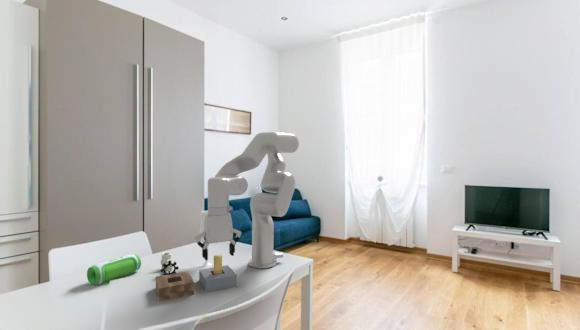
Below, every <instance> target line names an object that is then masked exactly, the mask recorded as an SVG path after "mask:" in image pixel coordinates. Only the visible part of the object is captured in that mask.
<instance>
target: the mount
mask: <svg viewBox="0 0 580 330" xmlns="http://www.w3.org/2000/svg"><path fill="white" fill-rule="evenodd" d="M155 290H156V294H157V298H158V301H159V302H161V301H165V300H166V301H167V300H172V299H177V298H182V297H187V296H192V295H195V281H194V279H193V278H192V276H191V273H190V272H189V271H182V272H176V273H175V274H169V275H163V274H162V275H158V276H155Z"/></svg>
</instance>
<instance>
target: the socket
mask: <svg viewBox="0 0 580 330" xmlns="http://www.w3.org/2000/svg"><path fill="white" fill-rule="evenodd" d="M237 277H238V274H237V273H236V272H235V271H234V269H232V268H231V267H230V266H229V265H228V264H226V265H222V274H218V275H214V266H213V267H208V268H207V267H206V268H203V269H199V270H198V281H199V282H200V284H201V286H202V288H203V289H204V291H205V293H207V292H213V291H217V290H222V289H228V288H234V287H235V288H236V289H237V287H238V285H237V283H238V279H237Z"/></svg>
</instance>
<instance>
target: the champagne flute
mask: <svg viewBox="0 0 580 330" xmlns="http://www.w3.org/2000/svg"><path fill="white" fill-rule="evenodd" d="M200 212H201V214H200V222H199V224H200V225H199V232H198V235H199V234H200V233H202V232H204V222H205V216H206V215H208V209H207V210H201V211H200ZM204 241H205V240H204V237H202V238H201V239H200V242H201V243H203V242H204ZM207 249H208V250H209V245H208V246H207ZM212 265H213V266H214V263H213V264H212V263H210V262H209V259H208V260H205V259H204V263H203V264H201V265H200V266H199V267H210V266H212Z"/></svg>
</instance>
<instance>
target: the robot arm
mask: <svg viewBox="0 0 580 330" xmlns="http://www.w3.org/2000/svg"><path fill="white" fill-rule="evenodd" d="M299 146H300V141H299V138H298V137H297V136H296V135H295V134H294V133H288V132H287V133H285V132H280V131H268V132H267V131H266V132H264V131H263V132H259V133H257V134H256V135H254V137H253V138H252V139H251V141H250V142H249V144H247V146H246V147H245V149H244V150H243V152H242V153H241V154H239V155H237V156H235V157H234V158H232V159H231V160H229V161H228V162H226V163H225V164H224V165H223V166H221V167H220V169H219V170H218V172H217V173H216V175H215V176H214V177H210V178H209V179H208V180H207V210H208V215H206V216H205V222H204V232H202V233H200V234H199V233H198V234H197V235H196V236H194V241H195V242H196V244H197V246H199V247H200V248H201V249H202V251H201V253H202V254H201V255H202V258H203V259H204V261H205V260H208V261H209V248H208V249H207V246H208V247H209V245H211V244H217V243H222V242H223V243H225V242H230V243H229V248H228V249H229V250H228V251H229V252H228V253H229V254H230V256H232V257H233V256H234V255H235V254H234V253H235V252H236V247H235V246H236V244H237V243H238V241H239V240H240V237H241V235H242V231H241V230H239V229H236V228H234V227H233V225H234V224H233V220H232V219H233V218H232V215H231V213H230V211H233V210H234V209H233V206H230V196H242V195H243V194H245V193H246V192H247V190H248V188H249V184H248V181H247V179H246V178H245V177H243V176H241V175H239V174H242V173H245V172H248V171H251V170H254V169H256V168H258V167H259V166H260V164H261V163H262V161H263V160H264V158H265V157H266V155H267V165H266V168H265V170H264V173H263V176H262V178H261V182H260V186H261V189H262V190H263V191H264V192H258V193H255V194H253V195H252V196H251V198H250V202H249V207H250V214H251V219H252V220H251V225H252V226H251V227H252V228H251V258H250V259H249V260H248V262H247V264H248V265H249V267H250V268H255V269H268V268H273V267H275V266H276V265H277V263H278V262H277V259H280V258H283V257H284V253H282V252H280V253H279V252H274V236H275V235H274V231H275V230H274V229H275V227H274V226H275V224H274V221H273V218H272V217H277V218H278V217H280V218H281V217H284V216H285V215H286V214H287V212H288V211H289V208H290V205H291V202H292V198H293V195H294V193H295V189H296V179H295V176H294V175H293V174H292V173H290V172H286V171H285V170H286V166H287V165H286V161H285V159H284V156H282V153H284V154H285V153H286V154H291V153H295V152H296V151H297V150H298V149H299ZM234 234H235V237H234ZM202 237H204V240H205V241H204V242H203V243H202V242H201V241H200V239H201V238H202Z"/></svg>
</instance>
